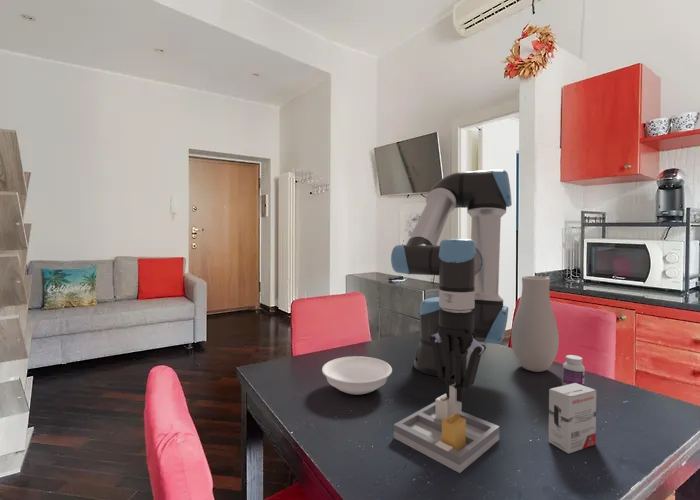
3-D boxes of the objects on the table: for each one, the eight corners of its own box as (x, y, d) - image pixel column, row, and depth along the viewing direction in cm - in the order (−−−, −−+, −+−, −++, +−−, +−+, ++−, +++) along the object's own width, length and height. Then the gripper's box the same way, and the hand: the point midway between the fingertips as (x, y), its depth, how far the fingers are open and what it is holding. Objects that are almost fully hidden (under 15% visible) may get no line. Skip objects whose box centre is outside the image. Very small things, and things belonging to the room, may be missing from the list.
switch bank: (393, 437, 80) (393, 423, 80) (435, 413, 91) (436, 400, 91) (459, 473, 68) (459, 456, 68) (499, 439, 79) (499, 425, 79)
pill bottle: (587, 395, 100) (588, 361, 100) (566, 394, 101) (567, 359, 101) (579, 387, 105) (580, 354, 105) (559, 386, 106) (560, 353, 106)
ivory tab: (435, 422, 83) (435, 396, 83) (445, 416, 86) (445, 391, 86) (446, 427, 81) (447, 400, 81) (456, 421, 84) (456, 395, 83)
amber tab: (441, 446, 74) (441, 417, 73) (452, 439, 76) (452, 411, 76) (454, 453, 72) (455, 423, 71) (465, 445, 74) (465, 416, 74)
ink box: (574, 433, 82) (575, 381, 81) (596, 445, 77) (598, 390, 76) (546, 441, 78) (548, 387, 78) (568, 454, 74) (569, 397, 73)
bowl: (406, 389, 105) (406, 367, 104) (360, 414, 90) (360, 389, 90) (354, 371, 118) (354, 351, 118) (307, 390, 104) (307, 368, 103)
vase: (548, 362, 125) (551, 275, 124) (565, 378, 112) (567, 280, 110) (506, 360, 128) (507, 274, 126) (517, 375, 114) (519, 279, 113)
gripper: (421, 307, 83) (421, 408, 84) (475, 316, 73) (474, 431, 75) (440, 302, 88) (439, 398, 89) (493, 310, 78) (491, 418, 80)
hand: (455, 413), depth 82 cm, fingers closed
